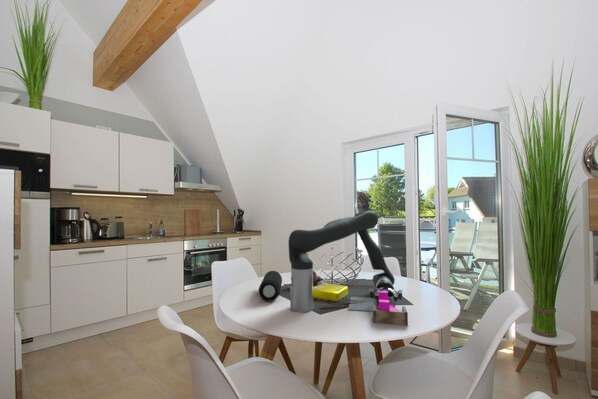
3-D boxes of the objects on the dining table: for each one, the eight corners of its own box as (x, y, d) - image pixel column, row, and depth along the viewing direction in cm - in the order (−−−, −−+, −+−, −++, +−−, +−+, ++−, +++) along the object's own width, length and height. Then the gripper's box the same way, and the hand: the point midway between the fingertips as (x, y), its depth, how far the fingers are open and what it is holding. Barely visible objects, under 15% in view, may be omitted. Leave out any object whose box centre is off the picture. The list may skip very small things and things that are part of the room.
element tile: (337, 303, 132) (336, 292, 132) (308, 298, 140) (308, 288, 140) (349, 294, 145) (349, 285, 145) (322, 290, 153) (321, 281, 153)
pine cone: (289, 289, 154) (289, 270, 154) (292, 284, 164) (292, 267, 164) (323, 290, 152) (322, 271, 152) (323, 285, 162) (323, 267, 162)
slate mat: (348, 310, 121) (348, 309, 121) (350, 297, 139) (350, 296, 139) (377, 312, 119) (377, 311, 119) (376, 299, 136) (376, 298, 136)
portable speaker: (264, 288, 157) (263, 269, 158) (282, 288, 158) (282, 269, 158) (257, 303, 132) (257, 281, 132) (279, 303, 132) (279, 280, 132)
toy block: (397, 323, 106) (396, 302, 107) (379, 322, 108) (379, 301, 108) (394, 310, 121) (393, 291, 121) (378, 308, 122) (378, 290, 123)
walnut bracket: (373, 322, 107) (373, 310, 107) (373, 315, 115) (372, 304, 115) (407, 325, 105) (407, 312, 105) (405, 317, 112) (405, 306, 112)
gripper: (368, 278, 134) (367, 288, 118) (401, 280, 131) (405, 290, 115) (368, 295, 134) (368, 306, 118) (401, 297, 130) (405, 309, 114)
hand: (386, 298), depth 116 cm, fingers open, 6 cm apart
